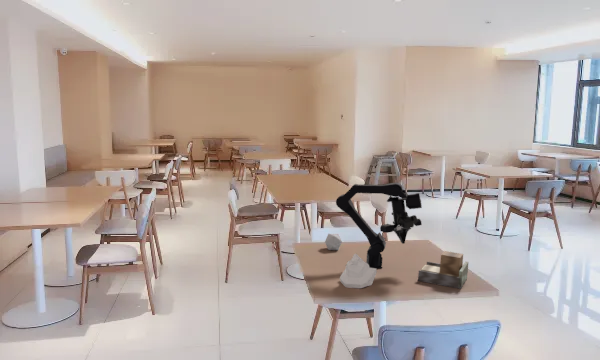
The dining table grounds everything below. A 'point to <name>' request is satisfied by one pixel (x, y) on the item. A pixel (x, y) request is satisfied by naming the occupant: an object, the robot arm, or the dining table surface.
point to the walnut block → (451, 263)
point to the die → (333, 241)
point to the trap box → (442, 275)
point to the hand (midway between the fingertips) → (403, 243)
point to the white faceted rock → (357, 273)
